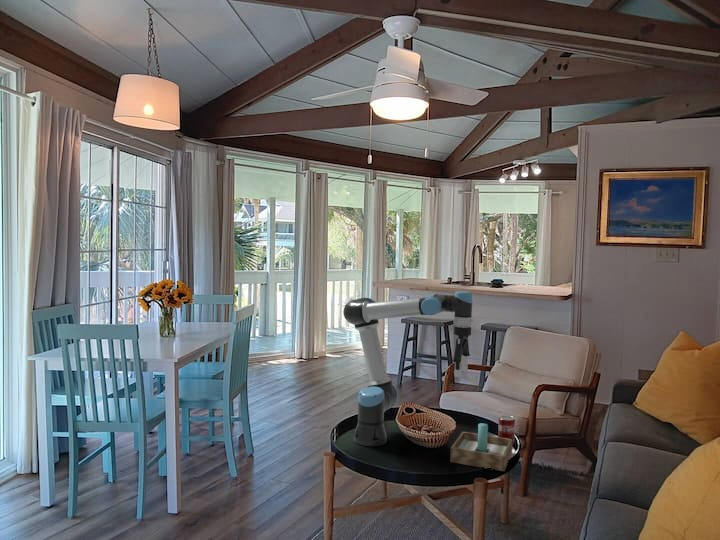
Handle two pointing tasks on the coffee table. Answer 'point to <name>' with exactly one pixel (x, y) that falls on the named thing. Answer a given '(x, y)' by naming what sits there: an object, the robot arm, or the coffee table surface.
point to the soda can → (506, 427)
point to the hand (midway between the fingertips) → (461, 373)
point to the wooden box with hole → (468, 454)
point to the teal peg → (482, 437)
